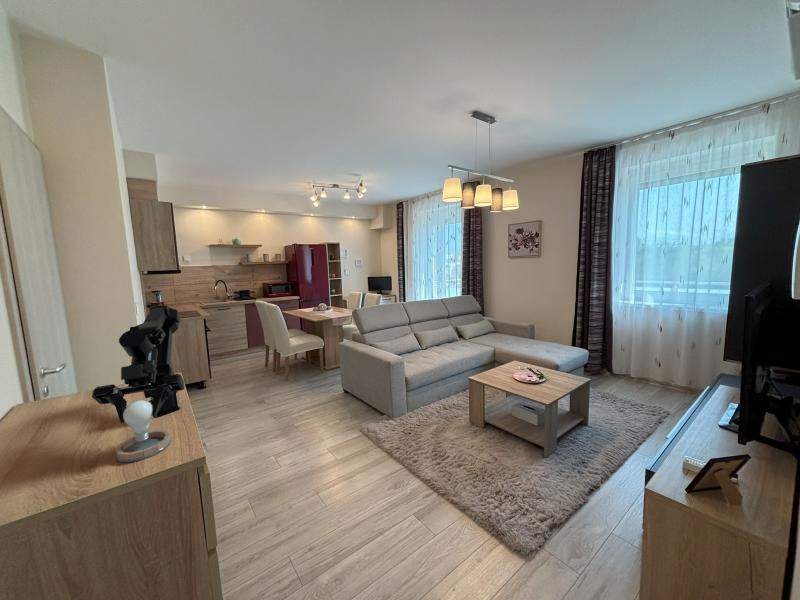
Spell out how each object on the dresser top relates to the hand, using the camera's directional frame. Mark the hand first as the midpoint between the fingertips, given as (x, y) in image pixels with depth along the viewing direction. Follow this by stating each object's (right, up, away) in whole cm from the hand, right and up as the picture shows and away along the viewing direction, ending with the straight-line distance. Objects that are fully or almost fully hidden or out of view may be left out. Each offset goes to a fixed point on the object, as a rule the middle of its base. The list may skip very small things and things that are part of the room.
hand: (138, 419), depth 82 cm
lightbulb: (-1, -7, +2) cm, 7 cm away
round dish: (0, -9, +2) cm, 9 cm away
